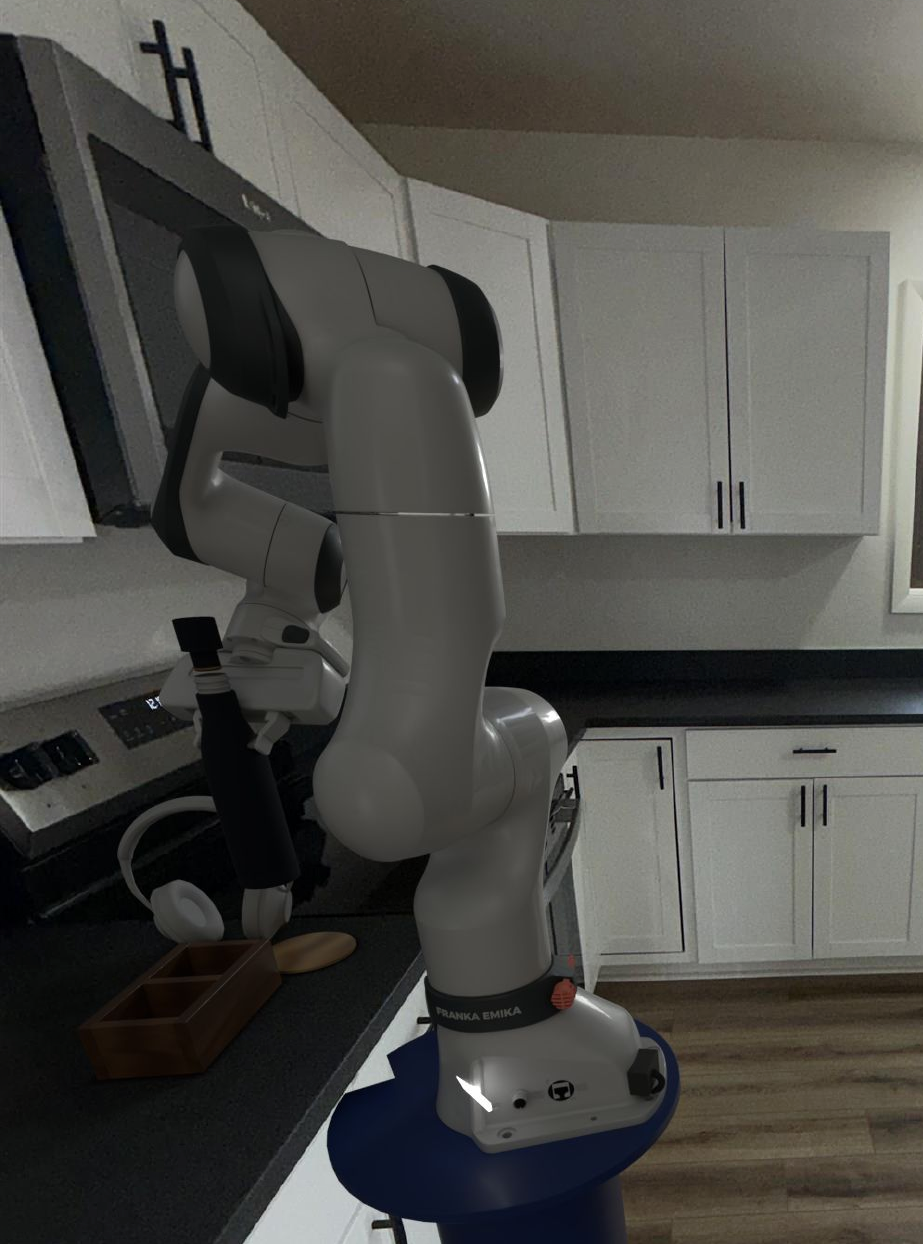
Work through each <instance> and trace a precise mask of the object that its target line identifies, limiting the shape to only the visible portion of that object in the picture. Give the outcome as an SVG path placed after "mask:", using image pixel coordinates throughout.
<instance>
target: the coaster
mask: <svg viewBox="0 0 923 1244" xmlns="http://www.w3.org/2000/svg"><path fill="white" fill-rule="evenodd" d="M356 947H357V941H356V938H354V936H352V935H350V934H349V933H345V932H340V931H319V932H311V933H306V934H302V935H297V936H294V937H290V938H288V939H285V940H283V941H280V942H277V943H276V944H274V945H272V948H273V952H274V955H275V959H276V962H277V966H278V969H279V972H280V975H281V974H282V975H288V974H289V975H291V974H300V973H307V972H312V971H316V970H320V969H324V968H326V967H330V966H332V965H334V964H337V963H339V962H341V961H342V960H344V959H346V958H347V957H349V956H350V955H351V954H352V953H353V952H354V951H355V949H356Z"/></svg>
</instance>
